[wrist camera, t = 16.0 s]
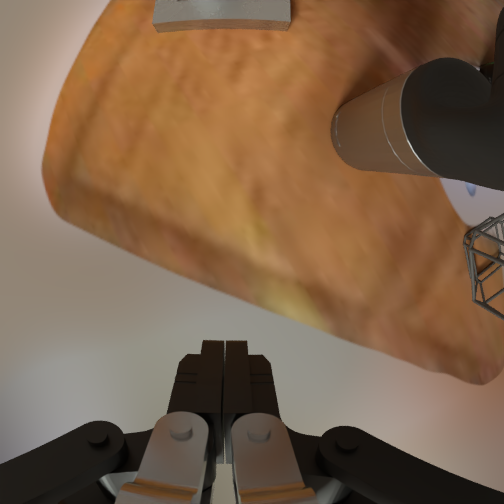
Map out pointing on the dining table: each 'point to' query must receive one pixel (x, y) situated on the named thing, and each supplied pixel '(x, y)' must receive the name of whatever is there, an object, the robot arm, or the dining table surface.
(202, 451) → the robot arm
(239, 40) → the dining table surface
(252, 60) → the dining table surface
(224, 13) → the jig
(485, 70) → the supplement bottle
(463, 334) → the dining table surface
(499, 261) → the geometric lantern
